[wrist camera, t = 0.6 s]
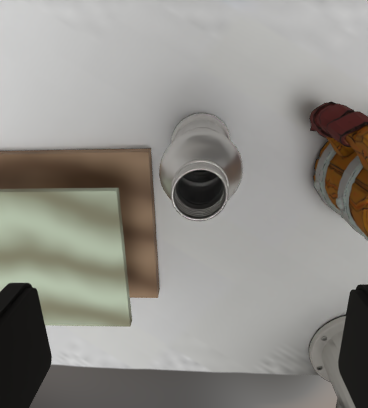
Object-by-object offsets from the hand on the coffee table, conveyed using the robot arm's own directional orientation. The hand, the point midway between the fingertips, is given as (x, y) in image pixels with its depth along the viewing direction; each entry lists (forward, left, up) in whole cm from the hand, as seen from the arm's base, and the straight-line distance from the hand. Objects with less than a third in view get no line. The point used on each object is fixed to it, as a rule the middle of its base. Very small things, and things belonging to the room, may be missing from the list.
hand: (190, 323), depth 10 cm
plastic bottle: (0, 0, -32) cm, 32 cm away
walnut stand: (-11, +16, -32) cm, 37 cm away
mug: (-2, -17, -32) cm, 37 cm away
